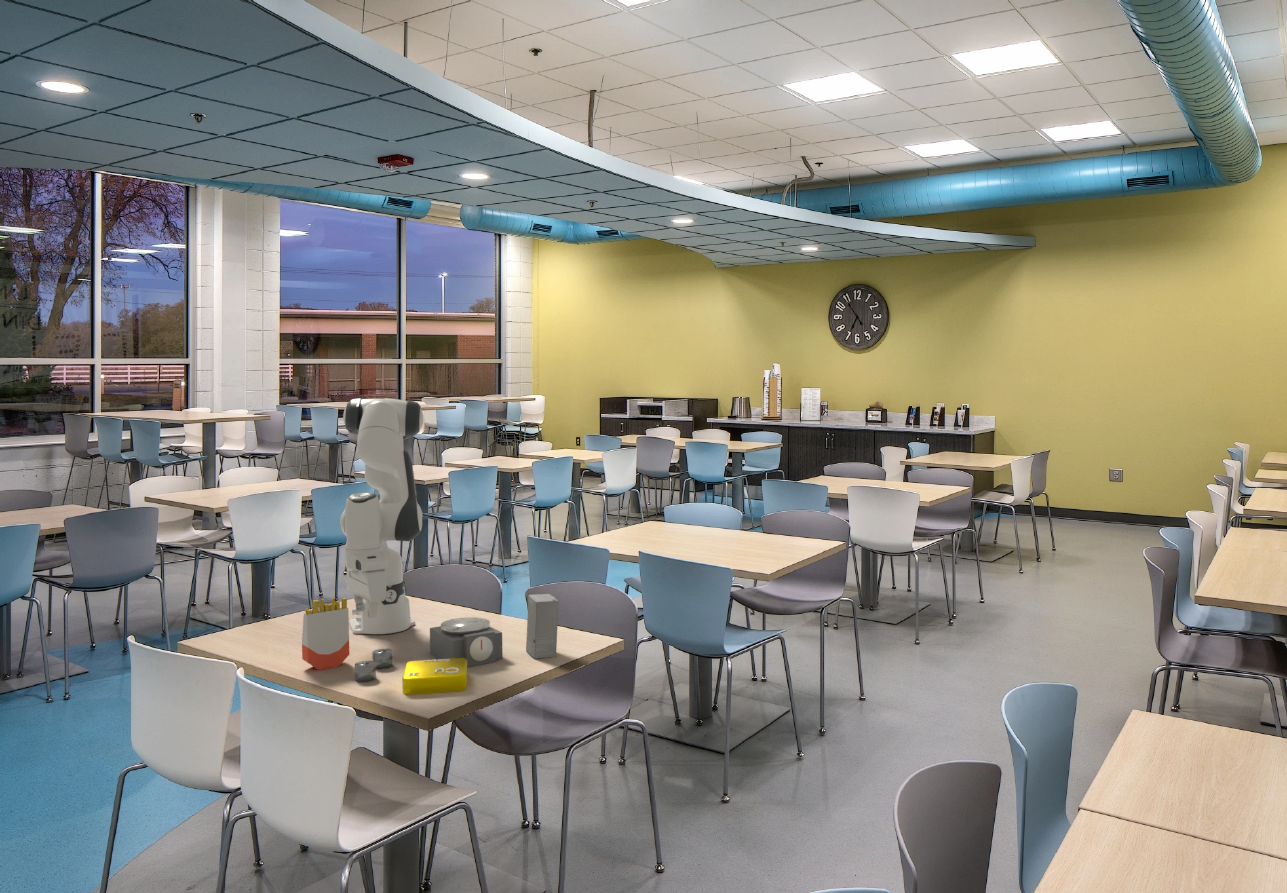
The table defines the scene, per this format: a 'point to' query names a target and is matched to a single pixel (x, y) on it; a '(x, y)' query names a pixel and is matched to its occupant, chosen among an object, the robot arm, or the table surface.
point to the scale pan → (465, 625)
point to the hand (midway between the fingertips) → (366, 614)
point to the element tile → (435, 676)
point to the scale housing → (467, 646)
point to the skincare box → (542, 626)
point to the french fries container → (326, 634)
